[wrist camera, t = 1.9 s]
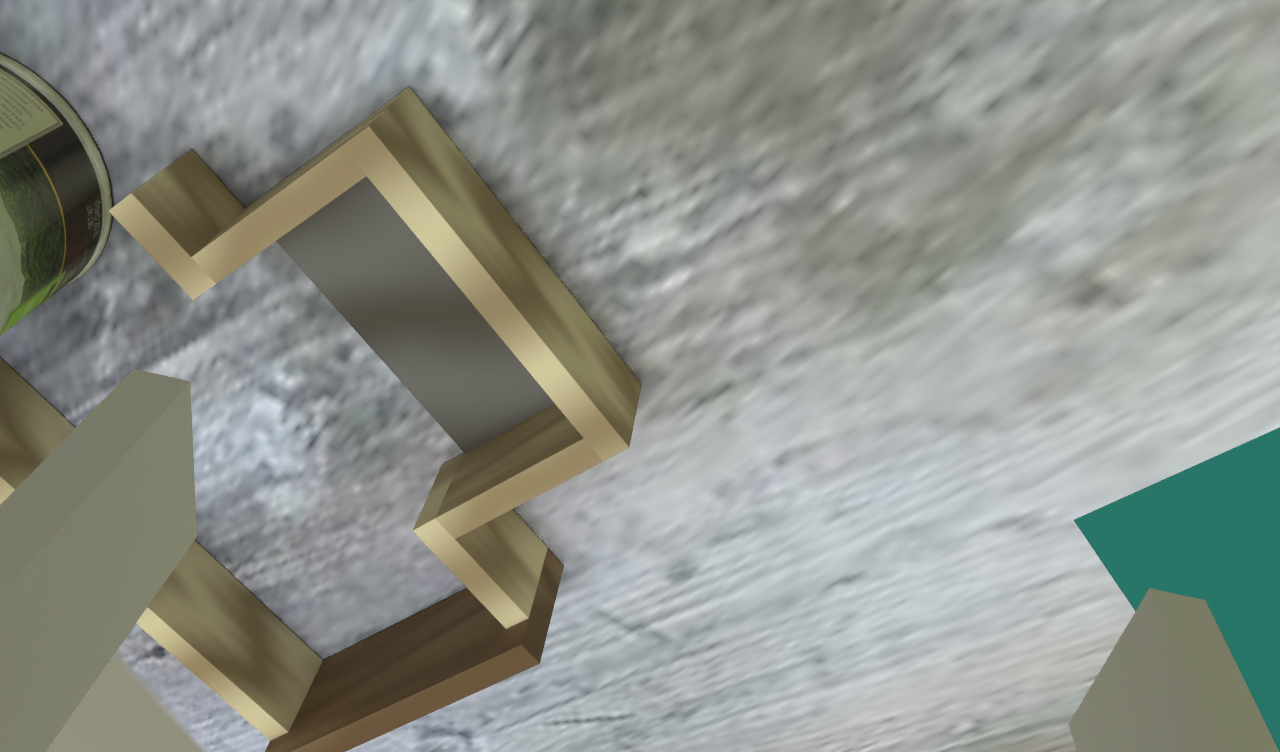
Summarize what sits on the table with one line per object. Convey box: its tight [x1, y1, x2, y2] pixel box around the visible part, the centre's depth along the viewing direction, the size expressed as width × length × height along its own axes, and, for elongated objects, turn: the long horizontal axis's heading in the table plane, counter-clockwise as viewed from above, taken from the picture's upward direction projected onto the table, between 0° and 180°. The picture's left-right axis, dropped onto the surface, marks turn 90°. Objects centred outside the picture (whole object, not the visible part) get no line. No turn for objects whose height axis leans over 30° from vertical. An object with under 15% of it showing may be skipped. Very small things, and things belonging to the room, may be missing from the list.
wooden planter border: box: [0, 87, 642, 752], centre depth 43 cm, size 23×24×6 cm
